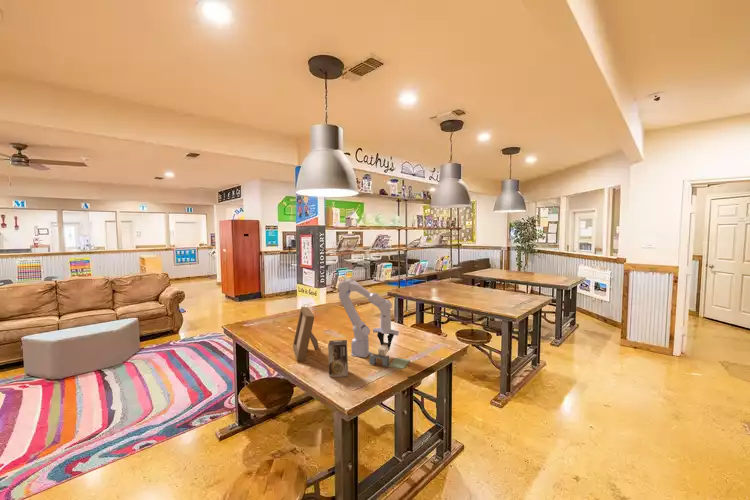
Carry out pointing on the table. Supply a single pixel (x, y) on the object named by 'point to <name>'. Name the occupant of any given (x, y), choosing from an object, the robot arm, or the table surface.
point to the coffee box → (338, 358)
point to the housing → (384, 358)
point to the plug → (383, 349)
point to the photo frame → (304, 334)
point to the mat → (399, 363)
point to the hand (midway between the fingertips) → (385, 346)
